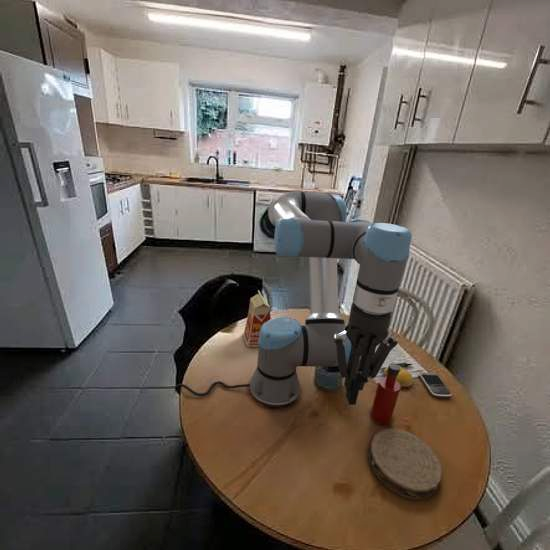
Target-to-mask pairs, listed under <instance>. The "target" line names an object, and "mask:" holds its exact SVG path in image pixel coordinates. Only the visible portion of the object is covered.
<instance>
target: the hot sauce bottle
mask: <svg viewBox="0 0 550 550" xmlns="http://www.w3.org/2000/svg"><path fill="white" fill-rule="evenodd" d="M388 366H389V367H388ZM388 366H387V367H388V374H387V377H386V376H382V377H380V378H379V380H378V383H377V387H376V391H375V394H374V399H373V403H372V407H371V410H370V417H371V419H372V420H373V421H374V422H375V423H377V424H379V425H383V426H386V425H389V424H391V422H392V419H393V418H392V417H393V415H394V411H395V408H396V404H397V401H398V398H399V395H400V391H401V388H402V387H401V386H400V384H399V383H398V382H397V381H396V378H397V376H398V374H399V371H400V367H401V366H400V365H399V366H400V367H399V366H398V364H397V363H394V362H391V363H389V364H388Z"/></svg>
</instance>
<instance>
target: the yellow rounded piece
mask: <svg viewBox="0 0 550 550" xmlns="http://www.w3.org/2000/svg"><path fill="white" fill-rule="evenodd" d="M397 365H398V364H397ZM398 366H399V367H400V371H399V374H398V376H397V378H396V381H397V382H398V383H399V384H400V386H401V388H407V387H410V386H411V385H412V384H413V382H414V377H413V375H412V373H411V372H410V371H409V370H408V369H403V368H402V367H401V366H400V365H398ZM388 367H389V365H388V366H387V367H385V368H384V370H383V374H384V377H387V374H388Z"/></svg>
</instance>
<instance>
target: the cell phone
mask: <svg viewBox="0 0 550 550" xmlns="http://www.w3.org/2000/svg"><path fill="white" fill-rule="evenodd" d="M418 376H419V377H420V379H421V381H422V382H423V384H424V385H425V387H426V388H427V390H428V392H429V393H430V394H431V396H432V397H434V398H451V397H452V393H451V392H450V390H449V389H448V387H447V386H446V384H444V382H443V381H442V379H441V378H440V377H439V375H438V374H437V372H436V373H435V372H418Z"/></svg>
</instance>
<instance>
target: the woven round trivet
mask: <svg viewBox="0 0 550 550" xmlns="http://www.w3.org/2000/svg"><path fill="white" fill-rule="evenodd" d="M368 452H369V453H368V454H369V463H370V466H371V468H372V471H373V472H374V474H375V475H376V477H377V478H378V479H379V481H380V482H382V483H383V484H384V485H385V486H386V487H387V488H388V489H389V490H391V491H393V492H394V493H396V494H398V495H399V496H402V497H405V498H409V499H412V500H424V499H426V498H428V497H431V496H433V494H435V492H436V491H437V489H438V487H439V485H440V482H441V480H442V474H443V470H442V466H441V461H440V459H439V457H438V456H437V454H436V453H435V451H434V450H433V449H432V447H430V446H429V445H428V443H427V442H425V441H424V440H423V439H421V438H420V437H419V436H417V435H415V434H413V433H412V432H409V431H407V430H404V429H399V428H385V429H382V430H379V431H378V432H377V433H376V434H374V435H373V438H372V441H371V443H370V447H369V450H368Z"/></svg>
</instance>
